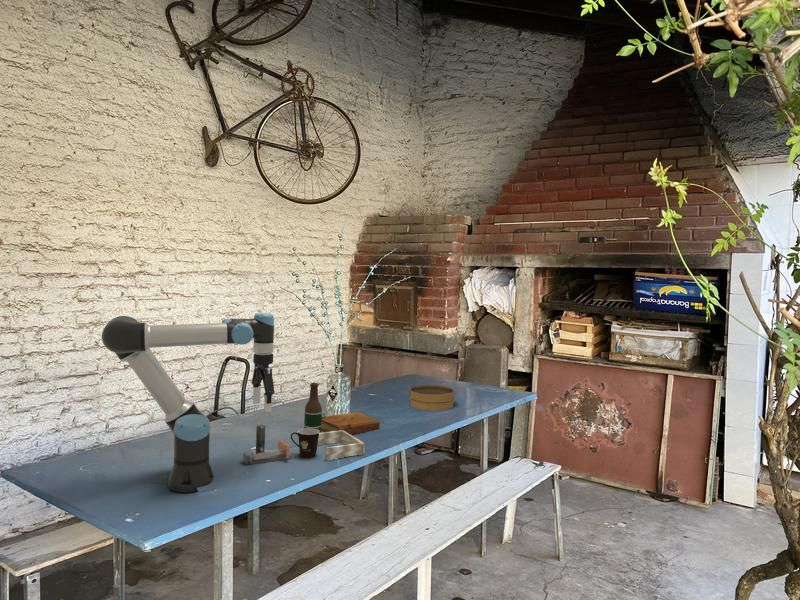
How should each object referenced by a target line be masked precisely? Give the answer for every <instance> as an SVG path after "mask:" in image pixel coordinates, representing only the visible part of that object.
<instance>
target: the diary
mask: <svg viewBox="0 0 800 600" xmlns="http://www.w3.org/2000/svg"><path fill="white" fill-rule="evenodd" d="M380 426H381V425H380V420H379V419H376V418H373V417H371V416H368V415H365V414H364V413H360V412H357V411H355V412H348V413H342V414H335V415H334V414H333V415H327V416H322V421H321V432H322V431H323V432H331V431H339V430H344V431H345V432H347V433H349V434H350V435H352V436H356V434H357V435H360V433H361V434H365V433H369V432H373V431H377V430H380ZM323 432H322V433H323Z"/></svg>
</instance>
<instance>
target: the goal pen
mask: <svg viewBox="0 0 800 600" xmlns="http://www.w3.org/2000/svg"><path fill="white" fill-rule="evenodd" d="M337 442H338V443H343V444H342V445H335V446H328V447H325V458H324V459H325V460H324V461H334V460H333V459H335V460H339V459H338V458H342V459H345V458H344V457H348V456H353V455H359V454H364V455H365V451H366V450H365V446H366V445H365V444H366V443H365V442H363V441H362V440H360V439H359V438H357V437H355V435H350V434H349V433H347V432H345V431H344V430H339V431H331V432H321V433H319V438H318V445H317V446H323V445H324V446H325V445H331V444H337ZM348 458H349V457H348Z"/></svg>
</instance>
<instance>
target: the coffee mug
mask: <svg viewBox="0 0 800 600" xmlns="http://www.w3.org/2000/svg"><path fill="white" fill-rule="evenodd" d="M319 432H320V431H319V430H317V429H312V428H306V429H304V428H301V429H298V431H295V432H292V433H291V435H290V439H291V441H292V442H293V444H295V446H297V447H298V448H299V449H298V450H299V457H301V458H302V459H313V458H315V457H316V456H317V451H318V446H319V445H318V438H319ZM293 435H296V436H297V437H298V443H297V442H296V441H295V440H294V438H293Z"/></svg>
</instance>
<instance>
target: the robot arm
mask: <svg viewBox="0 0 800 600" xmlns="http://www.w3.org/2000/svg"><path fill="white" fill-rule="evenodd" d="M253 315H254V316H253V318H231V317H230V318H224V319H222V321H221V322H213V323H186V324H184V323H183V324H182V323H181V324H157V325H150V324H148V323H147V322H139V321H138V320H137V319H135V318H133V317H132V316H129V315H120V316H117V317H113V318H112V319H111V320H109V321H108V322H107V323H106V324H105V326H104V328H103V329H102V332H101V342H102V344H103V346H104V347H105V348H106V349H108V350H109V351H110V352H112V353H114V354H115V355H116V356H117V358H118V360H120V361H123V362H127V364H128V365H129V366H130V368H131V369H132V370H133V372H134V373H135V374H136V376H137V378H138V379H139V381H141V383H142V384H143V385H144V386H145V388H146V390H147V391H148V393H149V394H150V395H151V396H152V398H153V399H154V401H155V402H156V404H157V405H158V406H159V407H160V409H161V410H162V412H163V413H164V415H165V417H164V422H165V424H166V425H167V427H168V428H169V430H171V432H172V433H173V439H174V440H173V441H174V442H173V446H174V447H173V465H172V468H171V471H170V473H169V475H168V476H169V477H168V478H167V487H168V489H169V490H170V491H174V492H178V493H196V492H198V491H199V490H198V488H201V487H205V486H207V485H210V484H211V483H213V482H214V479H215V478H214V477H215V476H214V473H213V470H212V467H211V464H210V437H211V436H210V435H211V434H210V433H211V432H210V431H211V424H210V419H209V418H208V417H207V416H205V414H204V413H203V412H202V411H201V410H199V409H198V407H197V406H196V404H195V403H194V401H190V400H187V399H186V397H185V395H184V394H183V393H182V392H181V391H180V388H178V386H177V385H176V383H175V382H174V381H173V379H172V378H171V376H170V375H169V374H168V372H167V371H166V369H165V368H164V367H163V365H162V363H160V361H159V360H158V358H157V357H156V355H155V354H154V352H153V350H151V348H168V347H169V348H170V347H172V348H173V347H188V346H189V347H193V346H206V345H207V346H208V345H209V346H211V345H226V344H227V345H229V344H231V345H233V344H237V345H239V346H240V345H248V344H249V343H250V342H251V341H252V340H253V347H252V348H253V353H254V354H253V359H252V362H253V364H254V366H253V367H254V369H253V373H252V378H251V385H252V388H253V389H252V390H253V392H252V404H253V405H257V404H259V405H260V404H261V393H262V391H261V389H262V383H263V388H264V393H263V396H264V399H263V401H264V402H263V406H264V407H263V412H264V413H269V412H273V410H272V408H273V407H272V406H273V395H275V388H274V387H275V386H274V379H273V368H272V367H270V365H272V364H273V363H274V354H273V353H274V347H275V346H276V345H275V344H274V341H275V340H274V339H275V338H274V337H275V316H274V314H272V313H269V312H267V313H266V312H265V313H264V312H260V313H259V312H258V313H255V314H253ZM269 367H270V368H269Z"/></svg>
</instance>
